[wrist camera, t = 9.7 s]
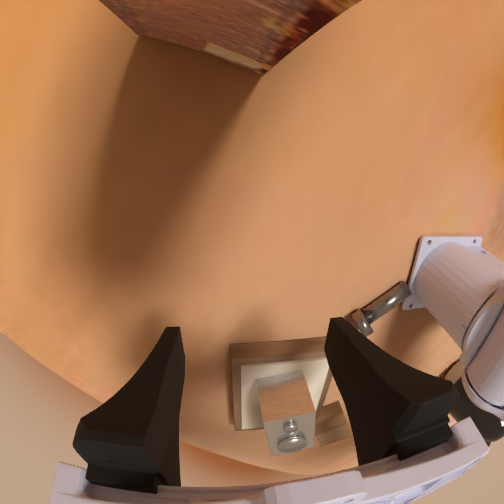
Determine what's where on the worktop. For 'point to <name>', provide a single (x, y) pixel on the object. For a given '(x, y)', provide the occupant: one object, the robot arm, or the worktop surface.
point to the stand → (273, 363)
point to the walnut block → (331, 424)
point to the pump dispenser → (473, 409)
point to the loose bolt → (380, 307)
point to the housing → (287, 412)
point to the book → (231, 25)
